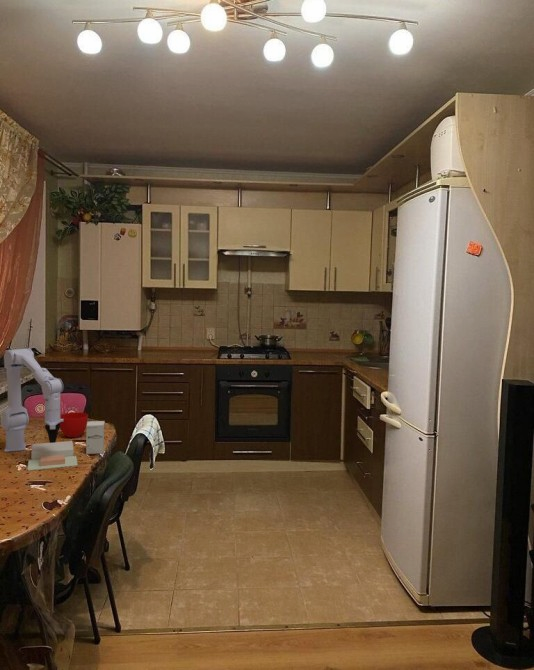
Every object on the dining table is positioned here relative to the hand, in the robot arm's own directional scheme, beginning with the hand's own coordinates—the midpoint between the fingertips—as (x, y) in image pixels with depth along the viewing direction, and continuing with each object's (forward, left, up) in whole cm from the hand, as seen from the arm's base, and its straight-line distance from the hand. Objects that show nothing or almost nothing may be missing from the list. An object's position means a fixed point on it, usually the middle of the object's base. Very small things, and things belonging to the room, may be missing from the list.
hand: (52, 442), depth 206 cm
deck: (-10, 0, -8) cm, 13 cm away
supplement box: (-8, +17, -8) cm, 20 cm away
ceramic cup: (-37, +10, -8) cm, 39 cm away
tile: (+4, 0, -5) cm, 6 cm away
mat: (+3, 0, -8) cm, 8 cm away
